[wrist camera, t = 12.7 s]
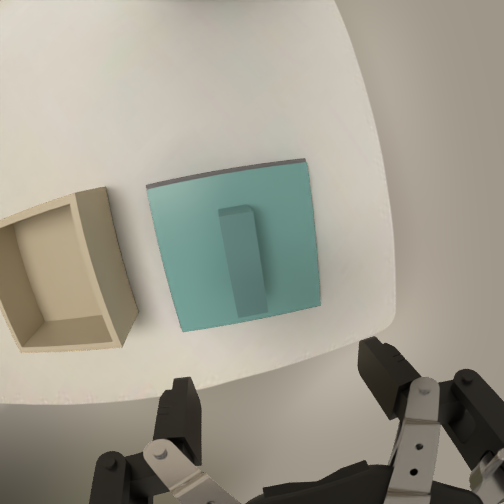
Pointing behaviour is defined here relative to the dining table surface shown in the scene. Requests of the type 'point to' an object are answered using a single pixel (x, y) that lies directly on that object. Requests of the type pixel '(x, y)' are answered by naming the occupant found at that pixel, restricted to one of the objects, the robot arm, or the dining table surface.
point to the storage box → (65, 276)
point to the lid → (238, 245)
